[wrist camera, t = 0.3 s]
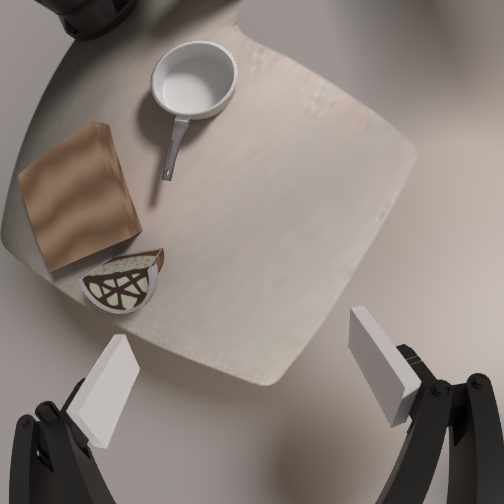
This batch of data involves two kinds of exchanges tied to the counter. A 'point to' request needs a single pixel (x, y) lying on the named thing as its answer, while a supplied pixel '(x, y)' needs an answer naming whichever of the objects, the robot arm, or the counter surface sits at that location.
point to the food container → (124, 281)
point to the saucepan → (192, 87)
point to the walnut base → (78, 197)
